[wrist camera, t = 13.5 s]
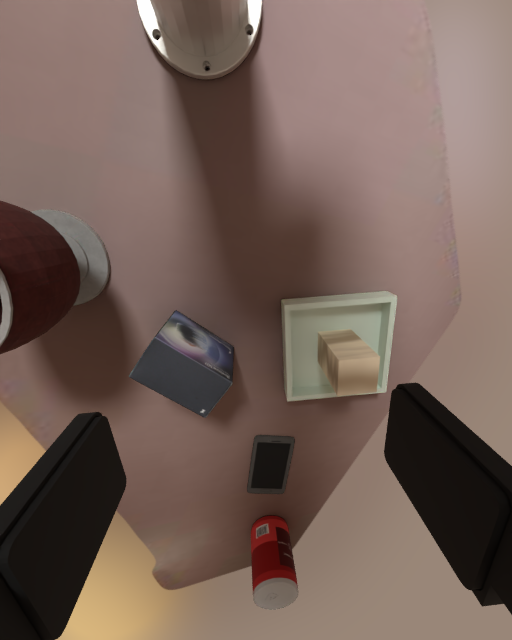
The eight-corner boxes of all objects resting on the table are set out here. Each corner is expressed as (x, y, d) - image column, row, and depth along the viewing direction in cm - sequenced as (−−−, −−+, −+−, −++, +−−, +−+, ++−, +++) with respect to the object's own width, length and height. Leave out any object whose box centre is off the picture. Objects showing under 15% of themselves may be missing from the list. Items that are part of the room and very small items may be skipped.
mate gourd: (60, 327, 38) (-111, 426, 20) (-21, 240, 34) (-342, 262, 15) (147, 271, 36) (50, 321, 18) (73, 171, 32) (-161, 99, 13)
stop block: (317, 331, 40) (338, 360, 32) (350, 328, 40) (380, 356, 32) (317, 361, 42) (337, 395, 33) (349, 358, 42) (376, 392, 34)
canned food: (245, 536, 56) (246, 607, 46) (258, 511, 54) (262, 579, 43) (279, 542, 57) (288, 612, 47) (293, 517, 55) (305, 585, 45)
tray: (281, 299, 39) (284, 305, 36) (386, 290, 39) (397, 296, 37) (284, 390, 44) (287, 401, 41) (376, 381, 45) (386, 392, 42)
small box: (236, 345, 41) (236, 383, 31) (213, 375, 43) (205, 421, 33) (176, 307, 38) (154, 335, 29) (153, 341, 40) (125, 379, 30)
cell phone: (246, 490, 52) (246, 493, 51) (254, 433, 47) (254, 436, 47) (283, 491, 53) (284, 494, 52) (295, 435, 48) (295, 438, 47)
